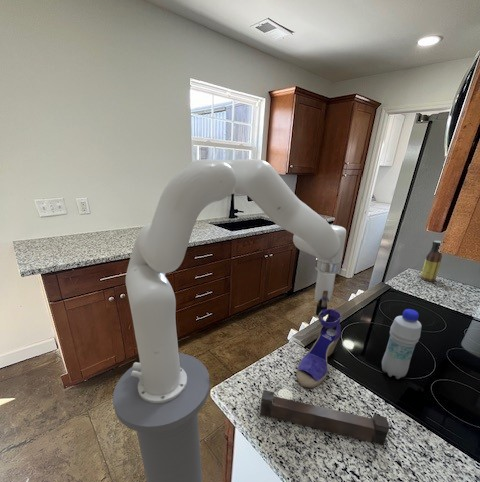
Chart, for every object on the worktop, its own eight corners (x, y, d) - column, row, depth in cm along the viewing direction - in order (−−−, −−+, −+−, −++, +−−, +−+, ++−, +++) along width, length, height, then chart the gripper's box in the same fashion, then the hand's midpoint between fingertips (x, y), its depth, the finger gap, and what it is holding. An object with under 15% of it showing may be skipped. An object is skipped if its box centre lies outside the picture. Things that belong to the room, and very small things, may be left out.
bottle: (409, 372, 74) (430, 310, 66) (401, 385, 69) (423, 321, 62) (384, 360, 78) (401, 301, 70) (375, 371, 74) (392, 309, 66)
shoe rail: (260, 414, 61) (261, 398, 59) (262, 406, 63) (263, 389, 61) (383, 445, 55) (389, 428, 53) (381, 434, 57) (386, 417, 55)
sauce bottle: (429, 277, 136) (441, 239, 128) (438, 282, 130) (451, 243, 122) (416, 277, 136) (428, 239, 128) (424, 282, 130) (437, 243, 122)
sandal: (285, 375, 72) (290, 329, 66) (323, 343, 85) (330, 303, 79) (311, 393, 67) (319, 344, 61) (348, 356, 80) (357, 313, 74)
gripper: (316, 256, 91) (310, 302, 98) (315, 272, 78) (308, 325, 85) (339, 258, 89) (331, 305, 96) (342, 275, 76) (333, 329, 83)
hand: (320, 314), depth 91 cm, fingers closed
